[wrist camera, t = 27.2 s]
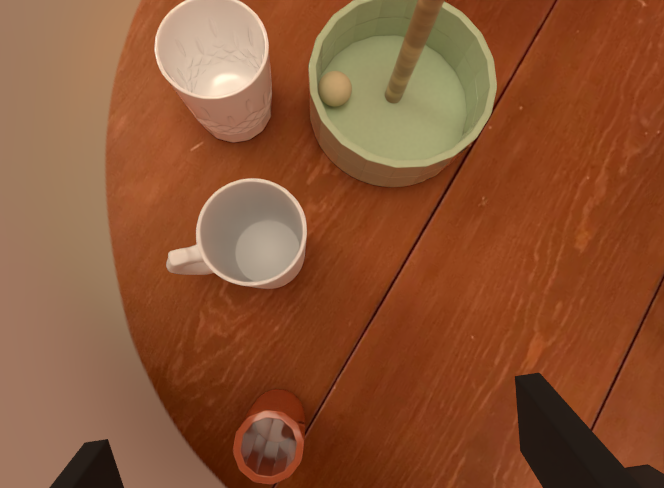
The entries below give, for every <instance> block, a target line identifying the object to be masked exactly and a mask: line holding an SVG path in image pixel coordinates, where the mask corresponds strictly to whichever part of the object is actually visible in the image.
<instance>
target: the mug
mask: <svg viewBox="0 0 664 488" xmlns="http://www.w3.org/2000/svg"><path fill="white" fill-rule="evenodd" d="M306 236H307V225H306V219H305V215H304V212H303V210H302V208H301V206H300V204H299V203H298V201H297V200H296V199H295V198H294V196H293V195H292V194H291V193H290V192H288V191H287V190H286V189H285V188H283V187H281V186H280V185H278V184H276V183H273V182H271V181H267V180H263V179H242V180H238V181H234V182H232V183H229V184H227V185H225V186H223V187H222V188H220V189H219V190H218V191H216V192H215V193H214V194H213V195H212V196H211V197H210V198H209V199H208V201H207V202H206V203H205V205H204V207H203V208H202V210H201V212H200V215H199V218H198V221H197V227H196V241H197V244H196V245H194V246H192V247H188V248H181V249H177V250H173V251H170V252H169V253H168V260H167V263H166V266H167V269H168V271H169V272H171V273H175V274H185V275H207V274H211V273H215V274H217V275H218V276H219V277H221V278H223V279H224V280H226V281H229V282H231V283H234V284H238V285H242V286H248V287H255V288H262V289H274V288H279V287H282V286H284V285H286V284H288V283H289V282H291V281H292V280H293V279H294V278H295V277H296V276H297V274H298V273H299V271H300V270H301V268H302V265H303V262H304V258H305V248H306Z"/></svg>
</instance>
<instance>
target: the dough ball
mask: <svg viewBox="0 0 664 488" xmlns="http://www.w3.org/2000/svg"><path fill="white" fill-rule="evenodd" d="M318 92H319V96H320V98H321V99H322V101H323V102H324V103H326V104H327V105H329V106H333V107H337V106H341V105H343V104H344V103H346V102H347V101H348V99H349V98H350V96H351V92H352V85H351V82H350V80H349V78H348V77H347V76H346V75H345V74H344V73H342V72H340V71H331V72H328V73H326V74H325V75H324V76H323V77H322V78H321V80H320V82H319V85H318Z"/></svg>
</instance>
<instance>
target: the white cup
mask: <svg viewBox="0 0 664 488" xmlns="http://www.w3.org/2000/svg"><path fill="white" fill-rule="evenodd" d="M155 56H156V60H157V64H158V66H159V68H160V70H161V72H162V74H163V75H164V77H165V78H166V79H167V81H168V82H169V83H170V85H171V86H172V87H173V89H174V90H175V91H176V93H177V94H178V96H179V97H180V98H181V100H182V101H183V102H184V104H185V105H186V106H187V108H188V109H189V110H190V111H191V112H192V114H193V115H194V116H195V117H196V118H197V120H198V121H199V122H200V123H201V124H202V126H203V127H204V128H205V129H206V130H207V131H209V132H210V133H211V134H212V135H213V136H214V137H216V138H217V139H221V140H225V141H228V142H232V143H234V142H240V141H246V140H250V139H251V138H253V137H254V136H256V135H257V134H259V133H260V132H262V131H263V130H264V128H265V126H266V124H267V123H268V121H269V119H270V117H271V104H272V99H271V98H272V85H271V67H270V57H269V44H268V37H267V33H266V30H265V27H264V25H263V23H262V22H261V20H260V19H259V17H258V16H257V15H256V13H255V12H254V11H253V10H252V9H250V8H249V7H248V6H247V5H245V4H244V3H242V2H240V1H238V0H186V1H184V2H182V3H180V4H179V5H177V6H176V7H174V8H173V9H172V10H171V11H170V12H169V13H168V14H167V15H166V17H165V18H164V19H163V21H162V22H161V24H160V26H159V28H158V31H157V34H156V38H155Z"/></svg>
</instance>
